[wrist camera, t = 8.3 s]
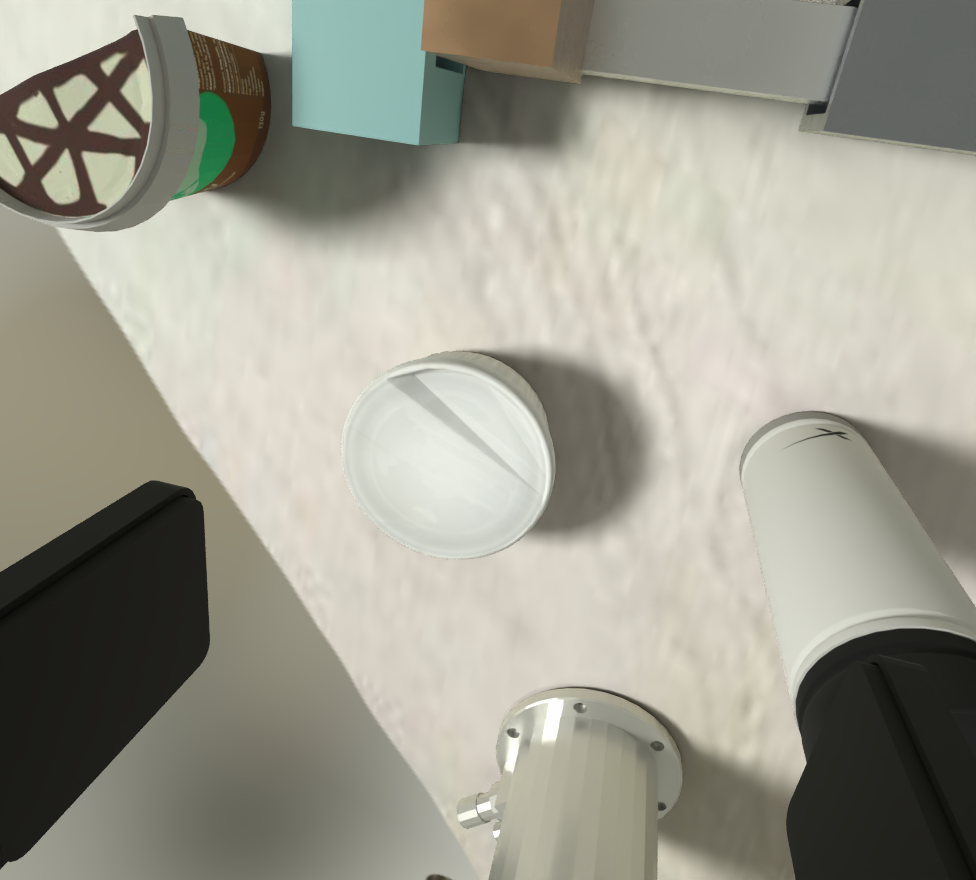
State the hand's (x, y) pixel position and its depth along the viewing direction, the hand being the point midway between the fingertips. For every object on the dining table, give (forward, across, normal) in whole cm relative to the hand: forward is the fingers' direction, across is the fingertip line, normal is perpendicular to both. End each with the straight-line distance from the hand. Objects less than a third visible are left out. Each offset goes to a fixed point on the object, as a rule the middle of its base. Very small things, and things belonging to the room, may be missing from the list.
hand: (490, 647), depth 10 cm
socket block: (+26, +11, -11) cm, 31 cm away
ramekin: (+28, +7, +8) cm, 30 cm away
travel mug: (+28, -11, +6) cm, 30 cm away
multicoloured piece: (+25, +1, -11) cm, 28 cm away
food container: (+27, +22, -4) cm, 35 cm away
